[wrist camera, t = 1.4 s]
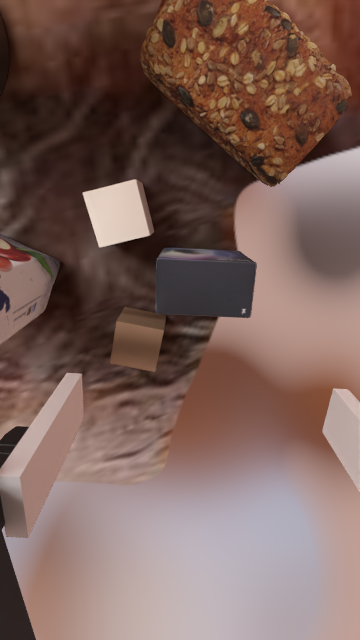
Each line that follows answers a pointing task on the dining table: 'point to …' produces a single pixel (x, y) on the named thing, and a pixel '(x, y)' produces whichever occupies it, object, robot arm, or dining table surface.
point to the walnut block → (138, 339)
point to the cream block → (119, 212)
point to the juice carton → (23, 285)
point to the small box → (204, 282)
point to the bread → (245, 80)
